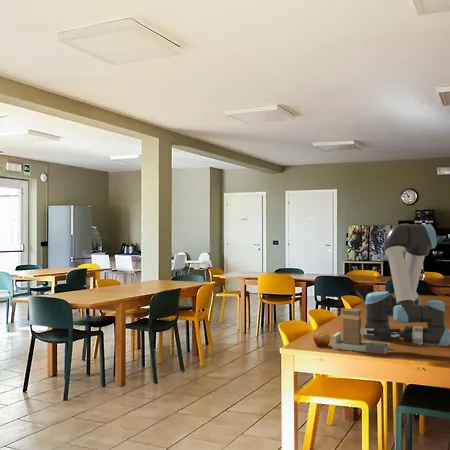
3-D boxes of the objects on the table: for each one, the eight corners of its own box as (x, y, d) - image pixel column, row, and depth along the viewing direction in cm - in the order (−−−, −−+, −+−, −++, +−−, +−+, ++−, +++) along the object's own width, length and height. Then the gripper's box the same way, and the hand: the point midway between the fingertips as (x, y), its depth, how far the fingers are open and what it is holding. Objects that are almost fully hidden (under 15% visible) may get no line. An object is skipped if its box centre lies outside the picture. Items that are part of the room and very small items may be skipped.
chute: (338, 344, 269) (338, 331, 269) (390, 348, 259) (390, 335, 259) (332, 349, 257) (332, 336, 258) (386, 354, 247) (386, 340, 247)
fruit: (327, 340, 271) (328, 327, 267) (330, 351, 264) (332, 339, 260) (310, 340, 271) (312, 328, 267) (313, 351, 264) (315, 339, 260)
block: (346, 345, 264) (346, 308, 265) (361, 347, 261) (361, 309, 262) (343, 348, 258) (343, 310, 258) (358, 350, 255) (358, 311, 255)
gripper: (411, 345, 242) (357, 341, 252) (414, 340, 254) (362, 336, 264) (411, 328, 242) (357, 325, 252) (414, 324, 254) (362, 320, 264)
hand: (360, 331), depth 258 cm, fingers closed
